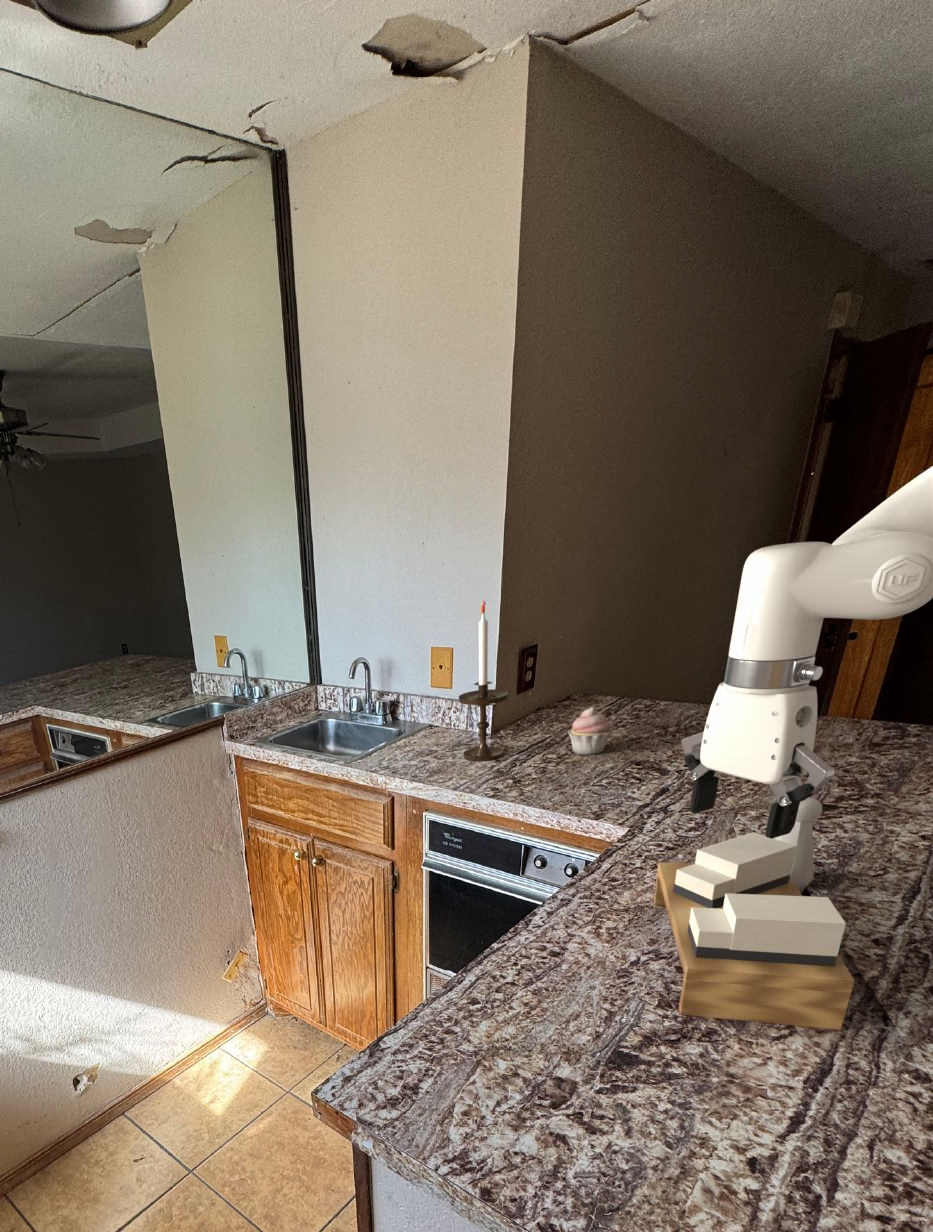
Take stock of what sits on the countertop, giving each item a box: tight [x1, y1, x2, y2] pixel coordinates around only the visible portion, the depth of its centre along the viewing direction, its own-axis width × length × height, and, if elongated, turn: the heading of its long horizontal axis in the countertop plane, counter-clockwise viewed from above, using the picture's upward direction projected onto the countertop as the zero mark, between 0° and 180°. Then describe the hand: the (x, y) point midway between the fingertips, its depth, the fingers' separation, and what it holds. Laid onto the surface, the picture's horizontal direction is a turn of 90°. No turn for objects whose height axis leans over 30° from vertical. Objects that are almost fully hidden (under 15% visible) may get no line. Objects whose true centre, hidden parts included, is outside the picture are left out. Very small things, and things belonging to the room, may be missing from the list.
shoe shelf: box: [653, 861, 856, 1031], centre depth 81 cm, size 14×26×6 cm, turn 159°
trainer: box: [673, 831, 796, 908], centre depth 83 cm, size 12×6×5 cm, turn 109°
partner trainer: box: [688, 893, 847, 966], centre depth 72 cm, size 12×6×5 cm, turn 69°
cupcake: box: [567, 706, 614, 756], centre depth 154 cm, size 9×9×10 cm
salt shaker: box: [773, 796, 823, 894], centre depth 90 cm, size 6×6×13 cm
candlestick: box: [458, 599, 509, 762], centre depth 156 cm, size 11×11×35 cm
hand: (737, 822), depth 81 cm, fingers open, 9 cm apart
